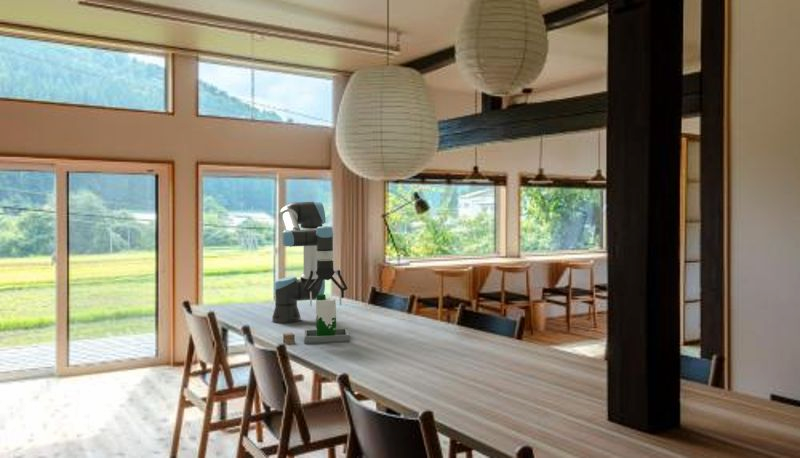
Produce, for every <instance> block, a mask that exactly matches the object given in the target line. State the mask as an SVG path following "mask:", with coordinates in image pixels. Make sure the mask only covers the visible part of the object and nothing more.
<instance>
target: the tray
mask: <svg viewBox="0 0 800 458" xmlns="http://www.w3.org/2000/svg"><path fill="white" fill-rule="evenodd" d="M303 337H304V344H306V345H308V344H311V345H312V344H329V343H330V344H331V343H332V344H333V343H349V342H350V334H349V331H348V328H336V333H335V335H332V336H317V329H304V336H303Z"/></svg>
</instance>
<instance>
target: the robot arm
mask: <svg viewBox="0 0 800 458" xmlns="http://www.w3.org/2000/svg"><path fill="white" fill-rule="evenodd" d="M278 220H279V221H278V222H280V224H281V225H282V228H283V231H282V234H281V237H282V238H281V240H282V245H283V247H289V248H291V247H303V272H302V274H301V275H300V278H299V279H298V278H297V276H288V277H287V276H286V277H282V278H278V279H276V281H275V283H274V295H275V296H274V299H275V300H274V301H275V303H274V305H275V306H274V311H273V314H272V317H271V318H272V321H271V322H273V323H276V324H290V323H297V322H300V321H301V319H302V318H301V314H300V310H299V307H298V301H309V306H310V307H313V306H312V305H313V303H312V302H313V301H316V300H317V295H319V294H325V291H326V281H330V280H331V282H333V283H334V284H335V285H336V286H337V287H338V289H339V291H338V292H339V295H338V297H339V299H338V300H339V306H342V299H344V297H345V295H344V293H345V291H347V290H348V286H347V284H346V282H345V280H344V278H343V277H342V275H341V270H340V269H336V270H335V269H334V260H333V259H334V230H333V229H334V228H333V227H332V226H330V225H329V226H324V224H326V212H325V207H324V204H323V203H322V202H320V201H319V202H317V201H302V202H301V201H300V202H297V201H293V202H290V203H287V204H286V205H284V206H283V207H282V208H281V209H280V210H279V211H278ZM301 229H302V230H301ZM334 275H337V276H338V278H339V280H340V282H341V284H342V286H341V284H340V283H339V282H338V281H337V280H336V279H335V277H334Z"/></svg>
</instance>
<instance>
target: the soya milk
mask: <svg viewBox="0 0 800 458" xmlns="http://www.w3.org/2000/svg"><path fill="white" fill-rule="evenodd" d="M336 303H337V302H336V298H334V297H333V298H332V297H331V298H330V297H326V294H325V293H324V294H319V295H317V300H315V317H316V318H315V319H316V322H315V323H316V324H315V326H316V329H315V330H317V336H332V335H335V333H336V329H337V304H336Z"/></svg>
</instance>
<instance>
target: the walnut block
mask: <svg viewBox="0 0 800 458" xmlns="http://www.w3.org/2000/svg"><path fill="white" fill-rule="evenodd" d="M282 336H283V337H282V339H283V340H282V341H283V343H284V344H286V345H288V344H290V343H291V344H296V342H295V341H296V338H295V337H296V336H295V333H293V332H289V333H283V334H282Z"/></svg>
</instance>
